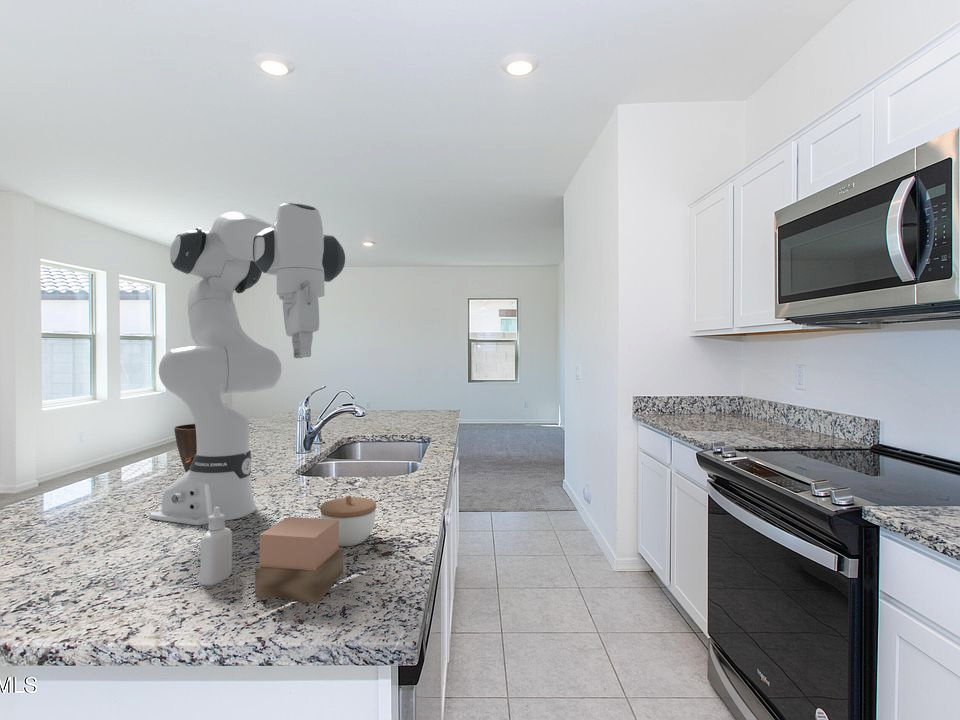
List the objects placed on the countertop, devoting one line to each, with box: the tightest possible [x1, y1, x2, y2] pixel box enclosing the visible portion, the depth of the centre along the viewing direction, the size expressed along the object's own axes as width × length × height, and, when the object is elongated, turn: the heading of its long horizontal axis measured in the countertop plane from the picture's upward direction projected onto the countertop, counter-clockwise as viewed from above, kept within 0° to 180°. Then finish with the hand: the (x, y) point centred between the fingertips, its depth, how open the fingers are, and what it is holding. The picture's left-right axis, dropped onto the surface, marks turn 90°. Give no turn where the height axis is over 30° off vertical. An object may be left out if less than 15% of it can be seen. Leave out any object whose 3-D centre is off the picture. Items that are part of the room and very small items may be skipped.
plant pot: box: [173, 423, 197, 473], centre depth 158 cm, size 15×15×16 cm
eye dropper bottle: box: [199, 507, 233, 586], centre depth 88 cm, size 4×6×12 cm
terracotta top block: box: [259, 516, 340, 571], centre depth 86 cm, size 9×9×5 cm
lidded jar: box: [319, 495, 377, 547], centre depth 105 cm, size 11×11×9 cm
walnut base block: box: [254, 547, 344, 604], centre depth 86 cm, size 10×10×5 cm
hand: (302, 357), depth 103 cm, fingers open, 8 cm apart
